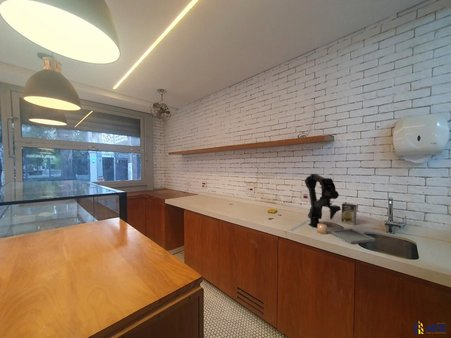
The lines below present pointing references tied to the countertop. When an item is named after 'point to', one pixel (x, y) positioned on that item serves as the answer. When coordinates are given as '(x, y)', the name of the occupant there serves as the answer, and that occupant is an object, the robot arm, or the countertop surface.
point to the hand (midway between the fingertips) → (325, 217)
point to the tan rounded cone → (322, 228)
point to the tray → (352, 236)
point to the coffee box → (349, 213)
